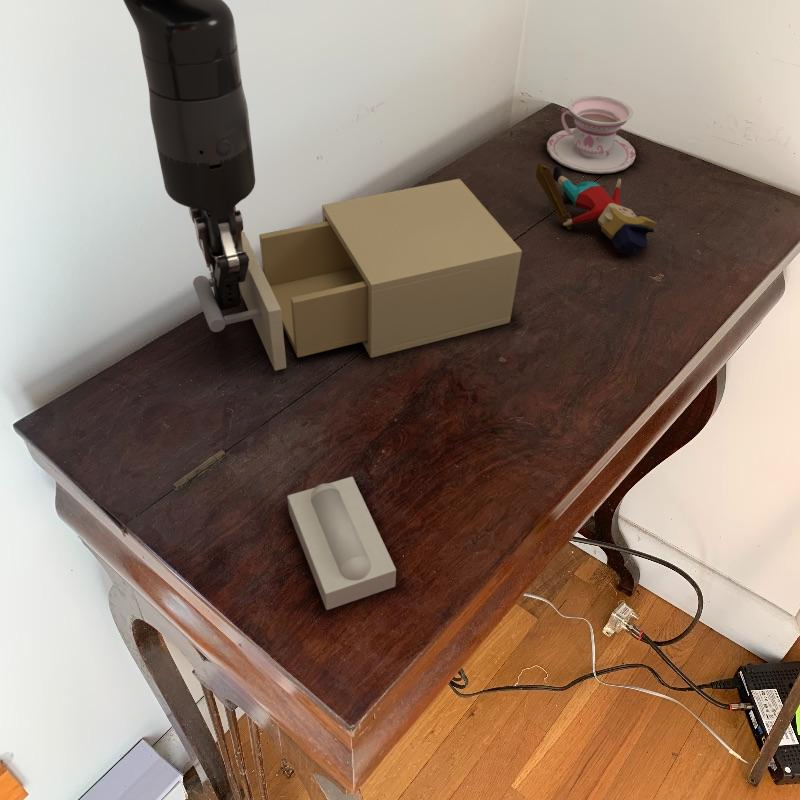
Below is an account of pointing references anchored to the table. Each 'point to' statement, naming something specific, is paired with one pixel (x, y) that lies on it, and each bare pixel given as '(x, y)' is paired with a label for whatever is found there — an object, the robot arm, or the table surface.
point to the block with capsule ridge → (341, 542)
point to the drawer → (297, 293)
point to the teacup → (593, 136)
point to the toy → (597, 209)
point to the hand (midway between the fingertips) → (228, 304)
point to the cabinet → (427, 263)
